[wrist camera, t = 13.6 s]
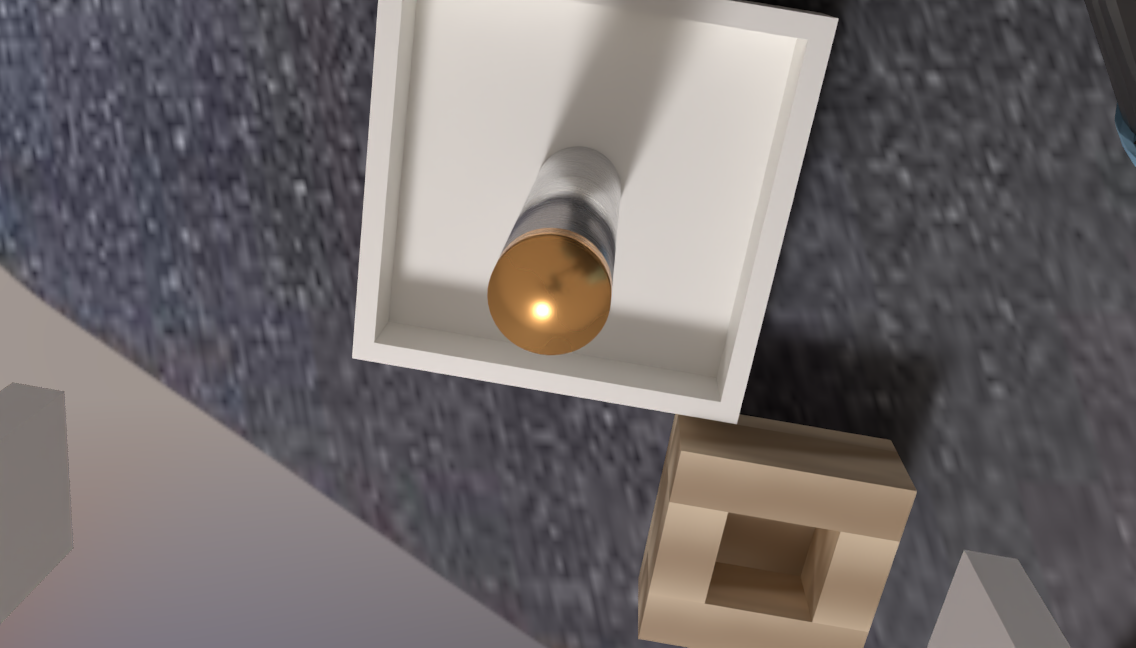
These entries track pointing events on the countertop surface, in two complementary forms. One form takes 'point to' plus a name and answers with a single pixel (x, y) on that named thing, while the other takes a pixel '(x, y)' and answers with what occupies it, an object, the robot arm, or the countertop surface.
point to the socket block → (770, 535)
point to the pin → (560, 256)
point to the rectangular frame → (637, 150)
